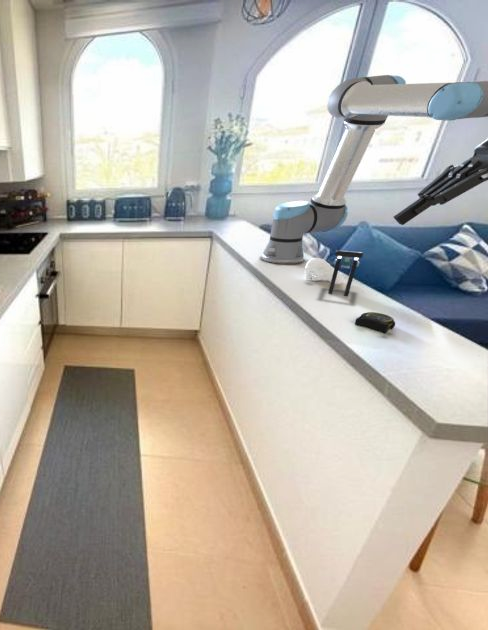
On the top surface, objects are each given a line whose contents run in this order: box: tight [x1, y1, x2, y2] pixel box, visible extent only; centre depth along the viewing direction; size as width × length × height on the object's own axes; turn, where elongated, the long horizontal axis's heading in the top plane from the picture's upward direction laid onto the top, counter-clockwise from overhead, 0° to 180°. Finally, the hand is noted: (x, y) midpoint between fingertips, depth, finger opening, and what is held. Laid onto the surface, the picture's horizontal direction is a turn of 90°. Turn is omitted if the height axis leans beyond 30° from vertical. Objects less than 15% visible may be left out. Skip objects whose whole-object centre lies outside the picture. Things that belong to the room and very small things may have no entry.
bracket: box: [327, 256, 361, 297], centre depth 107 cm, size 11×8×13 cm
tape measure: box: [354, 311, 396, 334], centre depth 88 cm, size 7×7×4 cm
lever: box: [334, 249, 364, 269], centre depth 100 cm, size 13×6×2 cm, turn 140°
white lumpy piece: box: [304, 257, 346, 285], centre depth 118 cm, size 6×8×12 cm
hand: (398, 220), depth 90 cm, fingers closed
